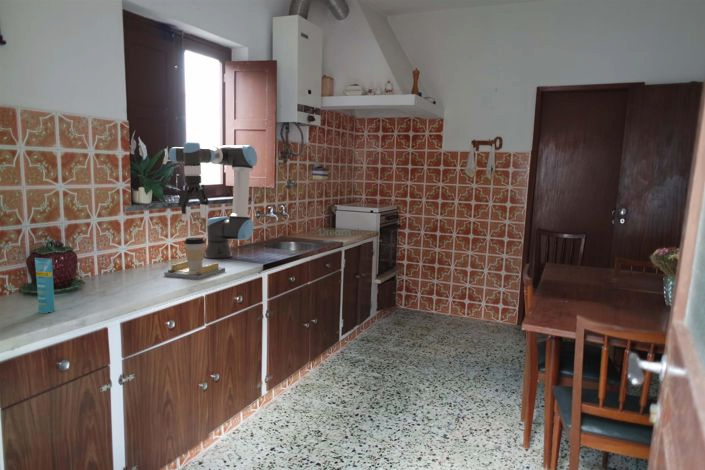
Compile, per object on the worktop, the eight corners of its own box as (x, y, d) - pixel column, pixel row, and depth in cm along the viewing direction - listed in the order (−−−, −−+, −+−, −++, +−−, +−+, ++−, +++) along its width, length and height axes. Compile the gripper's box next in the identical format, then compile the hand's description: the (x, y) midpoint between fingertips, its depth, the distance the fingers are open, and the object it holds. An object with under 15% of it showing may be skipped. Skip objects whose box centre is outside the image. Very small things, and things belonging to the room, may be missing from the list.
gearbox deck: (192, 268, 248) (191, 258, 248) (225, 271, 242) (225, 261, 241) (164, 276, 230) (164, 265, 229) (199, 280, 223) (199, 269, 222)
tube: (32, 312, 169) (28, 258, 167) (43, 309, 174) (39, 256, 172) (51, 314, 168) (47, 259, 166) (61, 310, 173) (58, 257, 170)
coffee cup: (199, 271, 230) (198, 240, 228) (181, 270, 232) (180, 239, 230) (209, 267, 239) (208, 237, 237) (191, 266, 241) (190, 237, 239)
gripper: (202, 174, 246) (203, 216, 249) (168, 175, 222) (170, 221, 226) (214, 174, 243) (216, 216, 246) (182, 175, 220) (184, 222, 223)
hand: (194, 219), depth 236 cm, fingers open, 13 cm apart
